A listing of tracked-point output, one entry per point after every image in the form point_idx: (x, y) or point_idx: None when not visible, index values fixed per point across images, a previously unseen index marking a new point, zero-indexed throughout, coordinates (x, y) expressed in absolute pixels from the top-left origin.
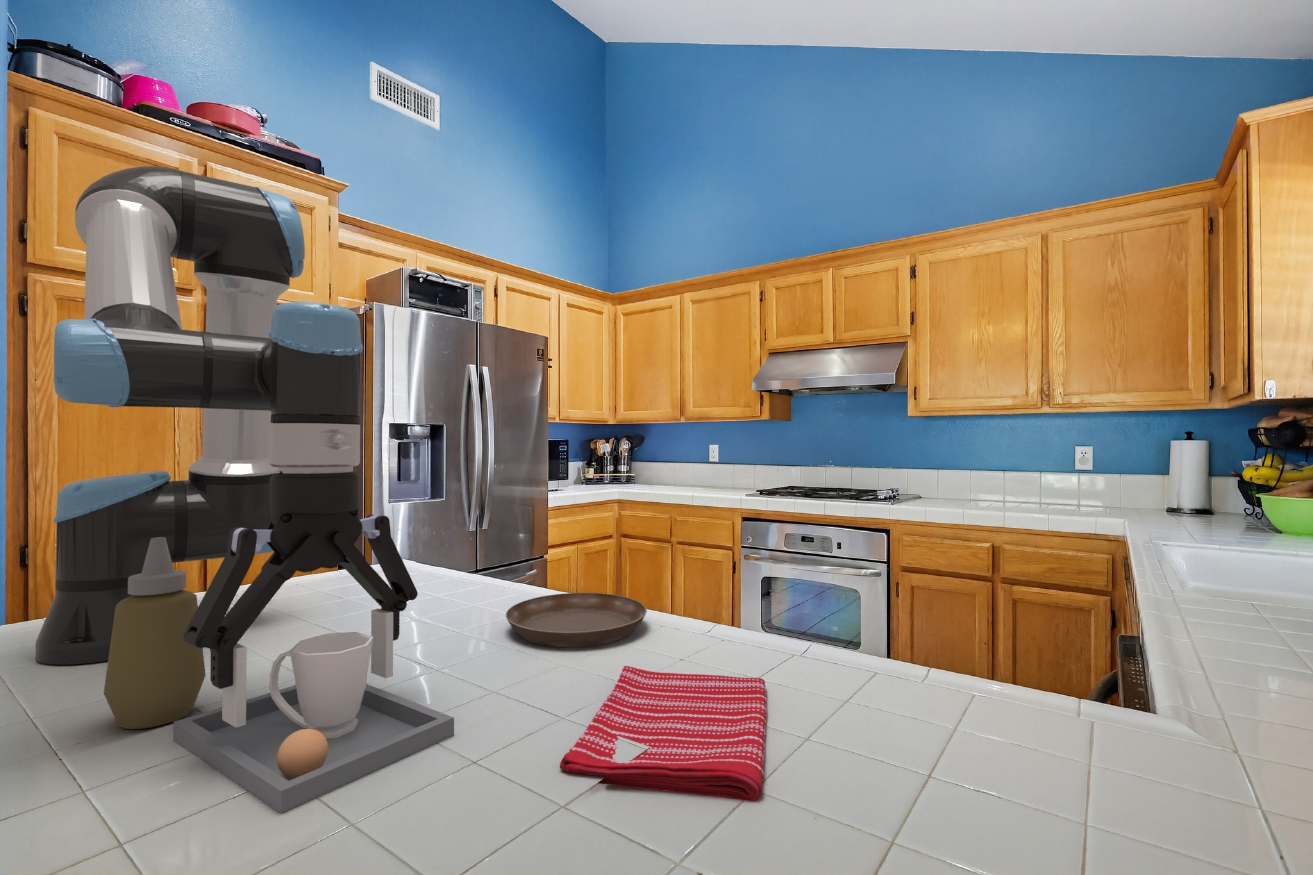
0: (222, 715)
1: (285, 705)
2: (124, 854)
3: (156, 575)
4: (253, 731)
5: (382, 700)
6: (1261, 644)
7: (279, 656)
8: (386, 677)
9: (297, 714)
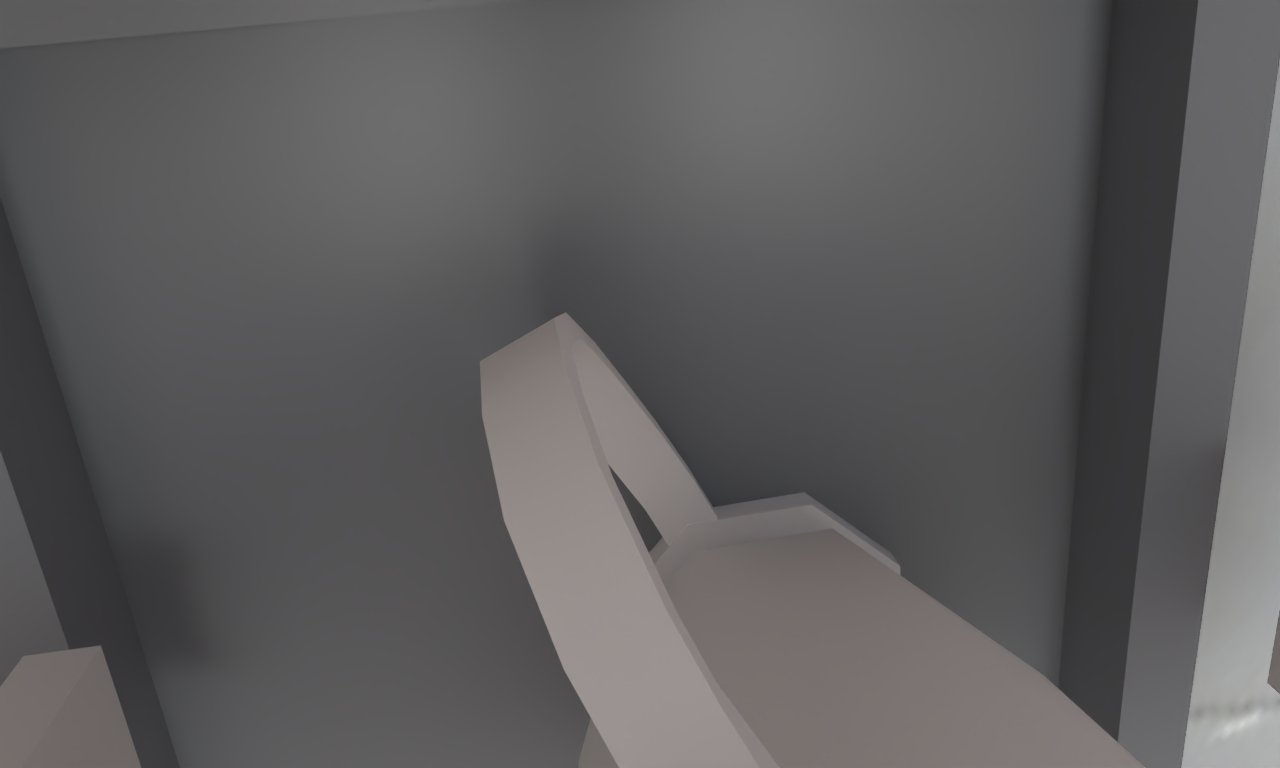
0: (9, 678)
1: (590, 389)
2: None
3: None
4: (374, 293)
5: (1110, 661)
6: None
7: (561, 642)
8: (1276, 682)
9: (644, 438)
